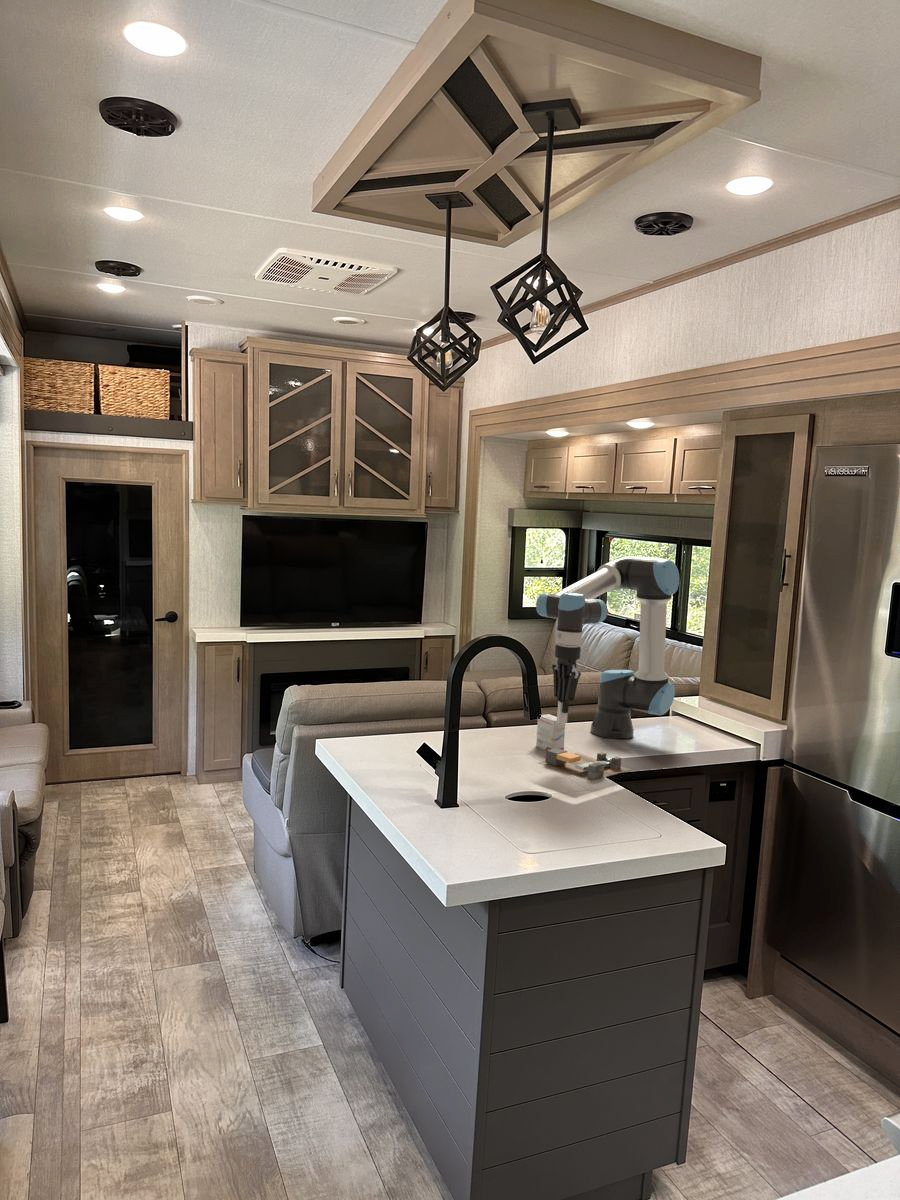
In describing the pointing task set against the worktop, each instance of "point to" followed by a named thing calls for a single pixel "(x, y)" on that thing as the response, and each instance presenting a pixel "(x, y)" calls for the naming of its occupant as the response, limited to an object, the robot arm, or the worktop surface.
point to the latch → (560, 757)
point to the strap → (585, 765)
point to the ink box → (550, 733)
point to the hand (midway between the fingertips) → (561, 722)
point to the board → (583, 773)
